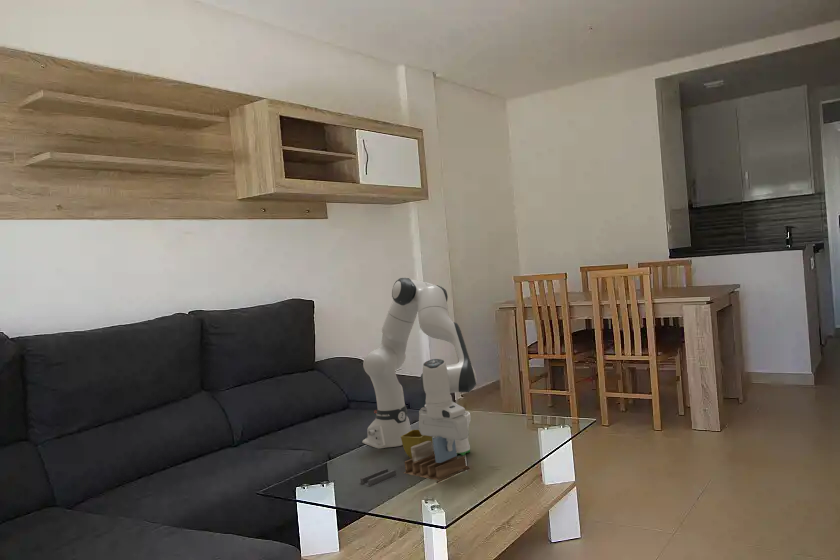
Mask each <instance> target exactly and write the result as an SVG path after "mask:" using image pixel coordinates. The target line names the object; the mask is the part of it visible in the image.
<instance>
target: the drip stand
mask: <svg viewBox="0 0 840 560" xmlns="http://www.w3.org/2000/svg"><path fill="white" fill-rule="evenodd" d="M397 477H398V475H397V471H396V470H395V469H392V470H389V468H387V467H385V468H383V469H381V470H377V471H376V472H373V473H370V474H368V475H365V476H363V477H360V482H359V484H360V485H364V486H369V487H371V488H373V487H375V486H378V485H380V484H383V483H385V482H387V481H390V480H392V479H394V478H397Z"/></svg>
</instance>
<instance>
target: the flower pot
mask: <svg viewBox="0 0 840 560" xmlns="http://www.w3.org/2000/svg"><path fill="white" fill-rule="evenodd" d="M401 440H402V444H403V445H402V447H403V449H404V452H405V454H406V455H407V456H408V458H409V459H412V453H411V447H413V446H415V445H418V444H420V443H423V442H426V441H432V442H433V437H432V436H425V435H421V433H420V431H419V429H411V431H410V432H408V433H406V434H404V435H402V436H401Z"/></svg>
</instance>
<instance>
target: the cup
mask: <svg viewBox="0 0 840 560" xmlns="http://www.w3.org/2000/svg"><path fill="white" fill-rule="evenodd" d="M463 415H464V416H465V417H466V420H467V424H468V429H469V426H470V423H471V420H472V418H471V417H472V416H471V413H470V411H466V410H465V414H463ZM455 445H456V452H457V456H458V454H460V455H461V456H466V454H468V453H471V446H470V442H469V436H468V437H467V438H466V439H464V440H455Z"/></svg>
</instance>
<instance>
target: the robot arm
mask: <svg viewBox="0 0 840 560" xmlns="http://www.w3.org/2000/svg"><path fill="white" fill-rule="evenodd" d="M391 298H392V299H393V301H392V303H391V304H390V307H389V310H388V311H387V312H388V313H387V314H386V317H385V319H384V322H383V325H382V328H381V332H382V337H381V342H380V344H379V346H378V348H375V349H372V350H371V351H370V352H368V354H367V355H366V356H365V358H364V359H363V365H362V366H363V370H364V371H365V373H366V374H367V376H368V377H370V380H371V382H372V385H373V388H374V389H373V390H374V393H375V398H376V406H377V409H375V410H374V413H373V414H376V415H375V419H374V420H373V421H372V422H371V423H370V425H368V427H367V432H366V433H367V437H366V438H365V439H363V440H362V444H364V445H367V446H370V447H373V448H375V449H377V450H378V449H384V448H385V449H386V448H393V447H400V446H403V444H402V440H401V436H402V435H404V434H406V433H408V432H410V431H412V427H411V423H410V419H409V417H408V409H407V405H406V404H405V395H404V388H403V386H402V384H401V383H400V381H399V379H398V377H397V374H396V371H397V370H399V369H400V368H401V367H402V366H403V364H404V362H405V361H406V351H407V345H408V340H409V337H410V335H411V331H412V329H413V326H414V324H415V321H416V318H418V324H419V327H420V330H421V332H422V333H424V334H425V335H426V336H427V337H430V338H433V339H437V340H440V341H444V342H449V343H450V344H452V345H453V347H454V350H455V353H456V357H457V360H458V362H457V363H452V364H446V361H445V360H444V359H441V358H433V359H428V360H426V361H425V362H423V364H422V373H421V375H420V383H421V384H420V385H421V391H423V392H424V393H425V404H426V408H425V407H421V408H420V409H419V411H418V414H419V415H418V430H419V431H420V433H421V435H425V436H432V438H435V437H437V436H439V437H442V438H446V440H447V442H448V444H447V446H445V448H446V451H449V452H450V451H452V450H453V449H452V445H453V442H454V440H464V439H466V438H467V437H468V438H469V434H470V433H469V428H468V424H467V420H466V417H465V416H464V415H463V414H465V411H466V409H465V407H464V406H462V405H460V404H457V403H456V401H455V402H454V401H453V396H452V394H455V393H470V392H471V391H472V390H473V389H474V388H475V387H476V386H477V381H478V378H477V373H476V370H475V368H474V366H473V365H472V362H471V359H470V355H469V352H468V348H467V345H466V342H465V339H464V336H463V333H462V330H461V328H460V326H459V324H458V323H457V322H455V321H453V320H452V318H450V315H449V307H448V292H447V290H446V289H445V288H444V287H442V286H441V285H437V284H434V283H431V282H428V281H425V280H418V279H413V278H410V277H409V278H408V277H400V278H398V279H397V280H396V281H395V282H394V284H393V286H392V289H391ZM417 315H418V316H417Z"/></svg>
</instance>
